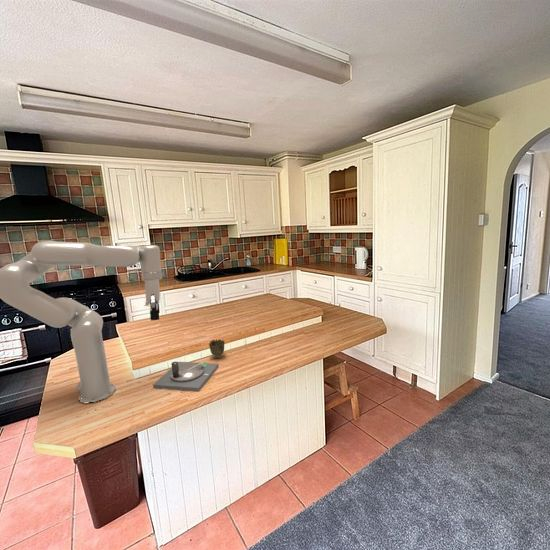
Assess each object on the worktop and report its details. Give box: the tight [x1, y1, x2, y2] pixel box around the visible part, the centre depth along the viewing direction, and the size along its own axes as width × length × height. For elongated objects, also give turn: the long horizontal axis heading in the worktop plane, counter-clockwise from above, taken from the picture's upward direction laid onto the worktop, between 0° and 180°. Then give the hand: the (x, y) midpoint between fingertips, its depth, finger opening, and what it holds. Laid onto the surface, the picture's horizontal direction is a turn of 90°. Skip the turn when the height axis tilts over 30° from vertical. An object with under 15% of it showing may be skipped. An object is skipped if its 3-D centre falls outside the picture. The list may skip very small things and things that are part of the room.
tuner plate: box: [152, 361, 220, 392], centre depth 126 cm, size 20×20×2 cm
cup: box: [208, 339, 225, 360], centre depth 143 cm, size 8×7×8 cm
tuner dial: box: [170, 360, 206, 382], centre depth 127 cm, size 17×14×7 cm
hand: (155, 316), depth 122 cm, fingers open, 9 cm apart
